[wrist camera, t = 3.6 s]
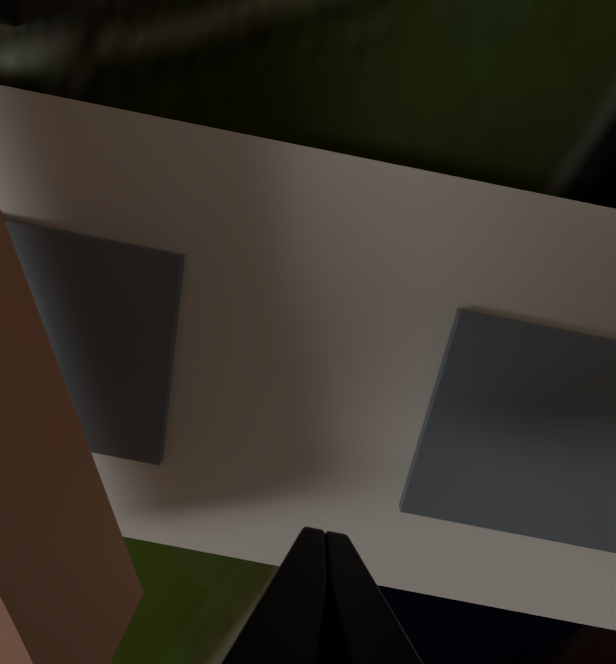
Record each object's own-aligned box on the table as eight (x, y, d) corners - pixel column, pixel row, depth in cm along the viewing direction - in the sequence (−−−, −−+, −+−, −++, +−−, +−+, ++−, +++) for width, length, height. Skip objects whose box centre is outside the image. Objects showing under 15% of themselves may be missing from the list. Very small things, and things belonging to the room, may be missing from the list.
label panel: (646, 611, 14) (678, 650, 13) (-117, 465, 14) (-161, 490, 12) (839, 259, 11) (906, 264, 9) (-161, 58, 10) (-227, 37, 9)
